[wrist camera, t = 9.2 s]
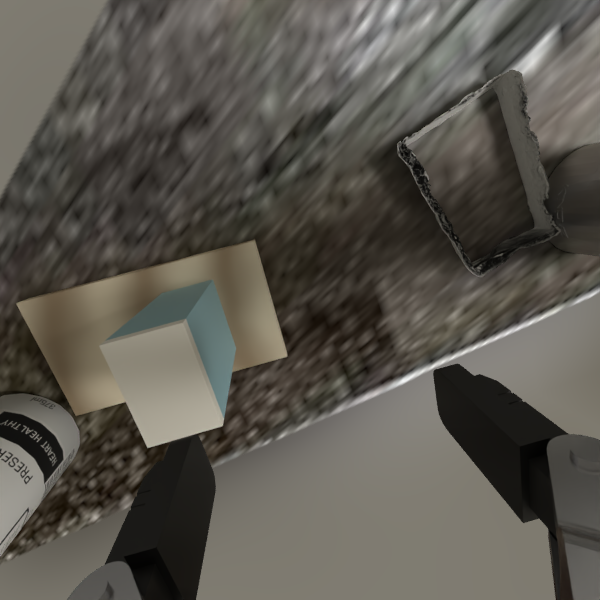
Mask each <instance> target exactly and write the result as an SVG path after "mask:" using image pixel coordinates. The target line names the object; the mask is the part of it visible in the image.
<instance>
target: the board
mask: <svg viewBox="0 0 600 600" xmlns="http://www.w3.org/2000/svg"><path fill="white" fill-rule="evenodd" d="M209 280H213V281H214V284H215V287H216V290H217V293H218V296H219V299H220V302H221V305H222V308H223V311H224V314H225V317H226V320H227V323H228V326H229V329H230V331H231V334H232V337H233V340H234V343H235V346H236V352H235V358H234V363H233V369H232V372H234V371H238V370H241V369H245V368H248V367H252V366H255V365H259V364H262V363H266V362H270V361H273V360H277V359H280V358H284V357H287V351H286V347H285V343H284V340H283V336H282V333H281V329H280V326H279V322H278V319H277V315H276V312H275V308H274V305H273V301H272V298H271V294H270V291H269V287H268V284H267V280H266V276H265V273H264V269H263V266H262V262H261V259H260V255H259V252H258V248H257V245H256V241H255V239H254V240H250V241H246V242H242V243H239V244H235V245H231V246H227V247H223V248H219V249H216V250H212V251H208V252H204V253H200V254H196V255H193V256H189V257H185V258H181V259H177V260H173V261H170V262H166V263H162V264H158V265H154V266H151V267H147V268H143V269H139V270H135V271H131V272H128V273H124V274H120V275H116V276H112V277H108V278H105V279H101V280H97V281H93V282H89V283H85V284H82V285H78V286H74V287H70V288H66V289H62V290H59V291H55V292H51V293H47V294H43V295H40V296H36V297H32V298H29V299H26V300H23V301H21V302H18V303H16V304H17V306H18V308H19V310H20V312H21V314H22V316H23V318H24V319H25V321H26V323H27V325H28V327H29V329H30V331H31V333H32V334H33V336H34V338H35V340H36V342H37V344H38V346H39V348H40V349H41V351H42V353H43V355H44V357H45V359H46V361H47V363H48V364H49V366H50V368H51V370H52V372H53V374H54V376H55V378H56V379H57V381H58V383H59V385H60V387H61V389H62V391H63V393H64V394H65V396H66V398H67V400H68V402H69V404H70V406H71V408H72V409H73V411H74V413H75V415H76V416H77V415H81V414H84V413H88V412H92V411H95V410H99V409H102V408H106V407H109V406H113V405H116V404H120V403H124V402H126V401H125V399H124V397H123V395H122V393H121V391H120V389H119V387H118V384H117V382H116V380H115V378H114V376H113V374H112V372H111V370H110V368H109V366H108V363H107V361H106V359H105V357H104V355H103V353H102V351H101V349H100V347H99V345H100V344H102V343H103V342H104V341H105V340H106V339H108V338H109V337H110V336H111V335H112V334H114V333H115V332H116V331H117V330H118V329H120V328H121V327H122V326H123V325H124V324H126V323H127V322H128V321H129V320H130V319H132V318H133V317H134V316H135V315H136V314H138V313H139V312H140V311H141V310H142V309H144V308H145V307H146V306H147V305H148V304H149V303H151V302H152V301H153V300H154V299H155V298H157V297H158V296H159V295H160V294H161V293H164V292H168V291H172V290H175V289H179V288H183V287H187V286H190V285H194V284H198V283H201V282H205V281H209Z"/></svg>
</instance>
